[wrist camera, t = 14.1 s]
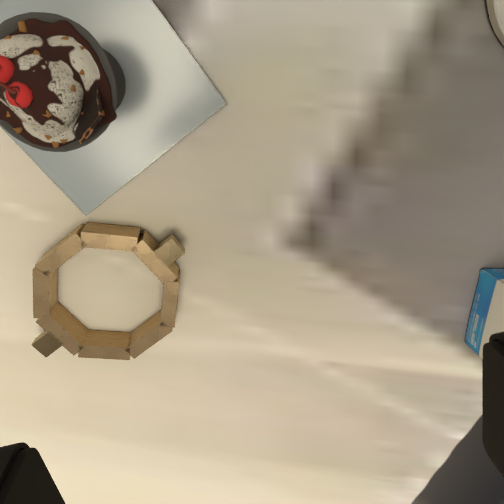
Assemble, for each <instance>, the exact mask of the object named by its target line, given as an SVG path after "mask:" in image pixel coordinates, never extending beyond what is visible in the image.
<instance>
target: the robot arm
mask: <svg viewBox="0 0 504 504" xmlns="http://www.w3.org/2000/svg"><path fill="white" fill-rule="evenodd" d="M486 2H487V8H488V14H489V19H490V21H491V24H492V27H493V29H494V32H495V34H496V36H497V37H498V39H499V40H500V42H501V43H502V45H503V46H504V0H486ZM483 444H484V447H485V450H486V452H487V454H488V456H489V457H490V459H491V461H492V462H493V463H494V465H495V466H496V467H497V469H498V470H499V471H500V473H501V474H502V475H503V477H504V332H499V333H495V334H492V335H491V336H490V338H489V343H485V344H484V345H483ZM0 504H65V502H64V500H63V498H62V496H61V494H60V492H59V490H58V489H57V487H56V485H55V483H54V481H53V479H52V477H51V475H50V473H49V471H48V469H47V467H46V465H45V463H44V462H43V460H42V458H41V456H40V454H39V452H38V451H37V449H36V448H30V447H29V446H28V445H27V444H26V443H17V444H12V445H8V446H4V447H0Z"/></svg>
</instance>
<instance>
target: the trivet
mask: <svg viewBox="0 0 504 504" xmlns="http://www.w3.org/2000/svg"><path fill="white" fill-rule="evenodd" d="M28 12H45V13H52V14H58V15H61V16H63V17H66V18H69V19H71V20H73V21H75V22H76V23H78V24H80V25H81V26H82V27H84V28H85V29H86V30H88V31H89V32H90V33H91V35H92V36H93V37H94V38H95V39H96V40H97V42H98V43H99V44H100V46H101V47H102V48H103V49H104V50H106V51H108V52H109V53H110V54H111V55H112V56H113V57H114V58H115V59H116V60H117V61H118V63H119V64H120V66H121V68H122V70H123V73H124V76H125V83H126V88H125V95H124V98H123V100H122V102H121V104H120V106H119V107H118V108H117V109H116V114H117V118H116V119H115V120H114V121H112V122H111V123H110V125H109V126H108V128H107V129H106V130H105V131H104V132H103V133H102V134H101V135H100V136H99V137H98V138H97V139H95V140H94V141H92V142H91V143H90V144H88V145H86V146H83V147H81V148H78V149H75V150H71V151H67V152H51V151H43V150H40V149H37V148H34V147H32V146H30V145H27V144H25V143H23V142H21V141H20V140H18V139H16V138H15V137H13V136H12V135H11V134H9V133H8V132H7V131H6V130H5V129H4V128H3V127H2V126H1V125H0V127H1V128H2V129H3V130H4V131H5V132H6V133H7V134H8V135H9V136H10V137H11V138H12V139H13V140H14V141H15V142H16V144H17V145H18V146H19V147H20V148H21V149H22V150H23V151H24V152H25V153H26V154H27V155H28V156H29V157H30V158H31V159H32V160H33V161H34V162H35V163H36V164H37V165H38V166H39V167H40V169H41V170H42V171H43V172H44V173H45V174H46V175H47V176H48V177H49V178H50V179H51V180H52V181H53V182H54V183H55V184H56V185H57V186H58V187H59V188H60V189H61V190H62V191H63V193H64V194H65V195H66V196H67V197H68V198H69V199H70V200H71V201H72V202H73V203H74V204H75V205H76V206H77V207H78V208H79V209H80V210H81V211H82V212H83V213H84V214H85V215H87V214H89V213H90V212H91V211H92V210H94V209H95V208H96V207H97V206H99V205H100V204H101V203H102V202H104V201H105V200H106V199H107V198H109V197H110V196H111V195H113V194H114V193H115V192H116V191H118V190H119V189H120V188H121V187H123V186H124V185H125V184H126V183H128V182H129V181H130V180H131V179H133V178H134V177H135V176H136V175H138V174H139V173H140V172H142V171H143V170H144V169H145V168H147V167H148V166H149V165H150V164H152V163H153V162H154V161H155V160H157V159H158V158H159V157H160V156H162V155H163V154H164V153H165V152H167V151H168V150H169V149H170V148H172V147H173V146H174V145H176V144H177V143H178V142H179V141H181V140H182V139H183V138H184V137H186V136H187V135H188V134H189V133H191V132H192V131H193V130H194V129H196V128H197V127H198V126H199V125H201V124H202V123H203V122H205V121H206V120H207V119H208V118H210V117H211V116H212V115H213V114H215V113H216V112H217V111H218V110H220V109H221V108H222V107H223V106H225V105H226V104H227V103H226V102H225V101H224V99H223V98H222V96H221V95H220V94H219V92H218V91H217V89H216V88H215V87H214V85H213V84H212V83H211V81H210V80H209V78H208V77H207V76H206V74H205V73H204V72H203V70H202V69H201V67H200V66H199V65H198V63H197V62H196V60H195V59H194V58H193V56H192V55H191V54H190V52H189V51H188V49H187V48H186V47H185V45H184V44H183V42H182V41H181V40H180V38H179V37H178V36H177V34H176V33H175V31H174V30H173V29H172V27H171V26H170V25H169V23H168V22H167V20H166V19H165V18H164V16H163V15H162V13H161V12H160V11H159V9H158V8H157V7H156V5H155V4H154V2H153V1H152V0H2V1H1V2H0V24H1V23H2V22H3V21H5V20H7V19H9V18H12V17H14V16H16V15H20V14H24V13H28Z"/></svg>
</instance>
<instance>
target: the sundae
mask: <svg viewBox="0 0 504 504" xmlns="http://www.w3.org/2000/svg"><path fill="white" fill-rule="evenodd" d="M125 88H126V83H125V76H124V73H123V70H122V68H121V66H120V64H119V63H118V61H117V60H116V59H115V58H114V57H113V56H112V55H111V54H110V53H109V52H108V51H106V50H104V49H103V48H102V47H101V46H100V44H99V43H98V42H97V40H96V39H95V38H94V37H93V36H92V35H91V33H90V32H89V31H88V30H86V29H85V28H84V27H82V26H81V25H80V24H78V23H76V22H75V21H73V20H71V19H69V18H66V17H63V16H61V15H58V14H52V13H45V12H28V13H24V14H20V15H16V16H14V17H12V18H9V19H7V20H5V21H3V22H2V23H1V24H0V125H1V126H2V127H3V128H4V129H5V130H6V131H7V132H8V133H9V134H11V135H12V136H13V137H15V138H16V139H18V140H20V141H21V142H23V143H25V144H27V145H30V146H32V147H34V148H37V149H40V150H43V151H51V152H67V151H71V150H75V149H78V148H81V147H83V146H86V145H88V144H90V143H91V142H92V141H94V140H95V139H97V138H98V137H99V136H100V135H101V134H102V133H103V132H104V131H105V130H106V129H107V128H108V126H109V125H110V123H111V122H112V121H114V120H115V119H116V118H117V114H116V109H117V108H118V107H119V106H120V104H121V102H122V100H123V98H124V95H125Z"/></svg>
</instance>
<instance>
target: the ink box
mask: <svg viewBox="0 0 504 504" xmlns="http://www.w3.org/2000/svg"><path fill="white" fill-rule="evenodd" d="M499 332H504V268H501V269H482V270H480V277H479V281H478V285H477V289H476V292H475V297H474V301H473V305H472V309H471V313H470V318H469V322H468V327H467V332H466V337H465V343H466V344H467V345H468V346H469V347H470V348H471V349H472V350H474V351H475V352H476V353H477V354H478V355H479V356H480V357H481V358H482V359H483V345H484V344H485V343H489V338H490V336H491V335H492V334H495V333H499Z"/></svg>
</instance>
